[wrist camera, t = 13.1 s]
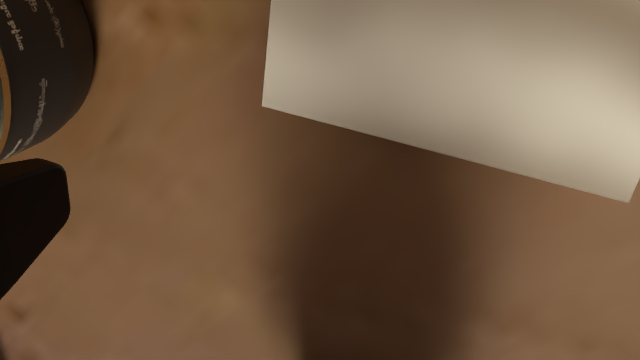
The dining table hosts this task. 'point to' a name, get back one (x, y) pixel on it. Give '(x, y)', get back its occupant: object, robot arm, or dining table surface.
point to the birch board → (472, 80)
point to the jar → (41, 69)
